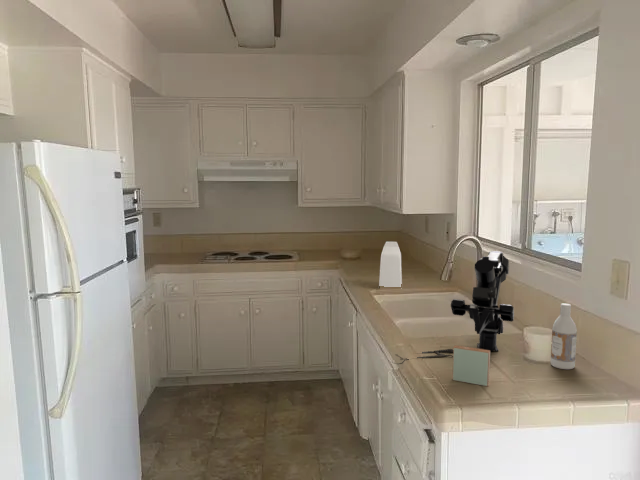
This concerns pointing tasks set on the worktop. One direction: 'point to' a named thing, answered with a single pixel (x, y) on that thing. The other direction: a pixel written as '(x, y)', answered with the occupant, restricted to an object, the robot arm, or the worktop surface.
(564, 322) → the bath foam
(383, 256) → the milk
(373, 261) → the worktop surface
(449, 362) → the worktop surface
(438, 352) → the hacksaw
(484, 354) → the tile
